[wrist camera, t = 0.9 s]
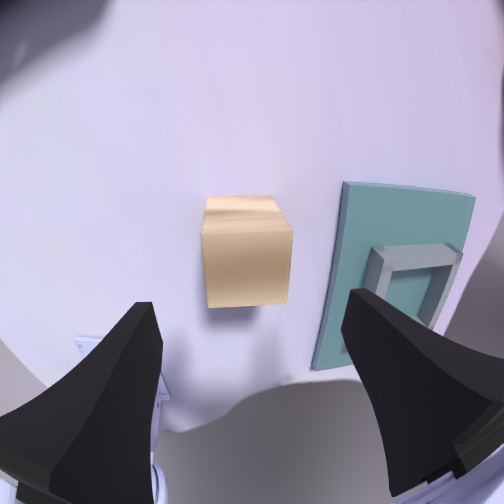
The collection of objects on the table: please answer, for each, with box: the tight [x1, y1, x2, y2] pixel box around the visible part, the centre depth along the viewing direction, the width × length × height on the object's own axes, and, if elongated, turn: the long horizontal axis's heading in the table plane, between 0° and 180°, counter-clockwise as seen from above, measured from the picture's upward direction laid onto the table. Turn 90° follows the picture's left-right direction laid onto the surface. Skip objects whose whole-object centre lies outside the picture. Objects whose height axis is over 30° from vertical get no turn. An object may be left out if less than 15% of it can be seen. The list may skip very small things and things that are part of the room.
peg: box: [201, 195, 293, 308], centre depth 15 cm, size 4×4×6 cm
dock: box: [312, 181, 476, 371], centre depth 21 cm, size 18×14×3 cm
